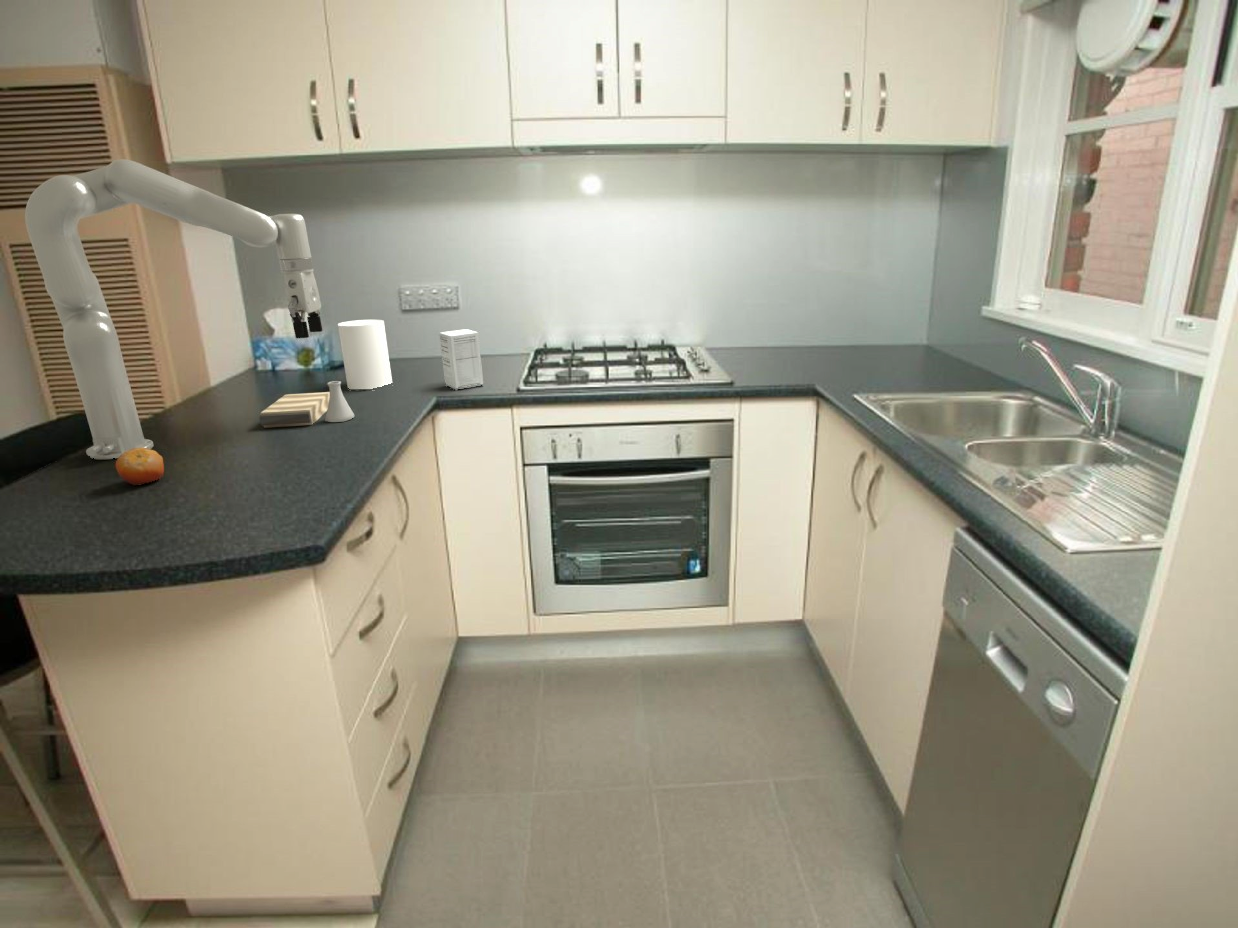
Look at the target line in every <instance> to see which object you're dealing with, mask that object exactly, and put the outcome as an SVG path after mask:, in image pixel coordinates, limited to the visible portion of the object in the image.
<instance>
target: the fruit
mask: <svg viewBox="0 0 1238 928" xmlns="http://www.w3.org/2000/svg"><path fill="white" fill-rule="evenodd" d="M164 465H165V464H164V458H163V456H162V455H160V454H159V452H157V451H156V450H154V449H145V448H140V447H139V448H134V449H131V450H129V451H126V452H124V453H123V454H122V455H121V456H120V457H119V458H116V461H115V469H116V471H117V473H118V475H119V477H120V478H122V479H123V480H124V481H125V482H126V483H128V484H131V485H133V486H135V485H139V484H144V483H147V484H149V482H150V483H153V482H155V480H156V481H159V480H160V479H161V478H162V477H163V476H164V472H165V466H164ZM158 479H159V480H158ZM152 481H153V482H152ZM144 485H145V484H144Z"/></svg>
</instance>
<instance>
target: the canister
mask: <svg viewBox="0 0 1238 928" xmlns="http://www.w3.org/2000/svg"><path fill="white" fill-rule="evenodd" d="M337 327H338V328H337V329H338V335H339V340H340V347H341V353H342V359H343V365H344V372H345V378H346V379H345V380H346V385H347V389H348V388H349V389H373V388H377V387H382V386H384V385H388V384H391V383H393V377H392V371H391V364H390V363H391V362H390V357H389V348H388V342H387V341H388V340H387V334H386V328H385V327H386V326H385V321H384V320H382V319H357V320H349V321H348V320H347V321H342V322H339V323H338V324H337ZM349 389H348V390H349Z"/></svg>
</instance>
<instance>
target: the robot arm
mask: <svg viewBox="0 0 1238 928" xmlns="http://www.w3.org/2000/svg"><path fill="white" fill-rule="evenodd" d="M130 204H135V205H138V206H141V207H143V208H146V209H149V210H150V211H154V212H157V213H159V214H162V215H165V216H167V217H170V218H173V219H175V220H177V221H180V222H182V223H185V224H189V225H192V226H195V227H200V228H201V227H202V228H206V229H210V230H213V231H217V232H220V233H221V234H224V235H227V236H230V237H234V239H235V238H236V239H238V240H241V241H242V242H243V243H244V244H245V245H247V246H250V247H253V248H267V247H270V246H272V245H275V246H276V252H277V258H278V263H279V267H280V273H281V274H283V276H284V278H283V279H284V287H285V294H286V300H287V309H288V311H289V316H290V318H291V322H292V326H293V331H294V336H295V339H307V338H309V337H310V334H309V333H322V332H323V326H322V319H321V313H320V310H321V308H322V303H321V298H320V293H319V288H318V285H317V281H316V277H315V274H314V272H315V269H314V265H313V260H312V259H313V258H312V253H311V249H310V243H309V238H308V237H309V236H308V231H307V226H306V222H305V218H304V217H303V216H302V214H298V213H280V214H275V215H266V214H264V213H263V212H259V211H257V210H255V209H252V208H250V207H247V206H244V205H243V204H241V203H237V202H235V201H233V200H229V199H227V198H225V197H222V196H219V195H218V194H214V193H212V192H210V191H208V190H206V189H203V188H200V187H198V186H196V185H194V184H190V183H188V182H186V181H183V180H181V179H178V178H175V177H173V176H170V175H169V174H166V173H164V172H161V171H159V170H157V169H155V168H152V167H149V166H147V165H145V164H143V163H140V162H137V161H134V160H130V159H125V158H121V159H119V158H118V159H116V160H113V161H112V162H111V163H109V164H108V165H105V166H104V167H100V168H96V169H93V170H89V171H86V172H82V173H78V174H75V175H70V174H69V175H68V174H61V175H60V174H59V175H56V176H53V177H51V178H49V179H47V180H45V181H44V182H43V183H41V184H40V185H39V186H38V187H37V188H35V189H34V190H33V191H32V193H31V194H30V196H29V198H28V200H27V203H26V207H25V212H24V218H25V219H24V221H25V227H26V231H27V234H28V237H29V241H30V243H31V246H32V248H33V252H34V256H35V258H36V260H37V263H38V266H39V269H40V272H41V275H42V279H43V280H44V281H43V282H44V286H45V290H46V292H47V294H48V295H49V297H50V298H51V301H52V303H53V305H54V308H55V311H56V313H57V316H58V318H59V321H60V324H61V327H62V328H63V332H62V333H63V334H62V336H63V343H64V347H65V350H66V353H67V356H68V359H69V362H70V364H71V368H72V372H73V375H74V377H75V381H76V382H75V383H76V385H77V389H78V392H79V395H80V397H81V401H82V405H83V409H84V412H85V415H86V419H87V423H88V426H89V429H90V434H91V437H92V443H93V445H92V446H90V447H89V448H87V449H86V450H85V452H86V456H88V457H89V456H90V457H89V458H90V459H93V458H94V460H114V459H113V458H115V459H118V458H119V457H120V456H121V455H122V454H123V453H124V452H126V451H129V450H131V449H134V448H139V447H140V448H145V449H150V450H152V449H153V447H154V441H153V440H151V439H146V438H145V437H144V433H143V430H142V426H141V422H140V419H139V414H138V411H137V407H136V403H135V399H134V395H133V391H132V389H131V384H130V380H129V377H128V373H127V369H126V366H125V362H124V358H123V357H124V356H123V354H122V350H121V345H120V339H119V336H118V333H117V330H116V327H115V325H114V322H113V320H112V317H111V314H110V312H109V308H108V306H107V302H106V300H105V296H104V294H103V292H102V289H101V286H100V283H99V280H98V278H97V276H96V275H95V273H94V272H93V271H92V268H91V266H90V264H89V261H88V259H87V255H86V253H85V249H84V246H83V244H82V239H81V237H80V234H79V231H78V228H79V227H78V224H79V222H80V220H83V219H86V218H90V217H92V216H95V215H99V214H103V213H105V212H108V211H112V210H115V209H118V208H122V207H125V206H127V205H130ZM306 314H307V315H308V316H307V317H306ZM305 319H307V321H305Z"/></svg>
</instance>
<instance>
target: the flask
mask: <svg viewBox="0 0 1238 928" xmlns="http://www.w3.org/2000/svg"><path fill="white" fill-rule="evenodd" d="M341 384H342V381H339V380H335V381H334V380H333V381H329V382H327V386H328V388H329V392H330V398H329V404H328V409H327V411H326V412H325V413H326V415H325V419H324V421H325V422H327V423H328V422H329V423H339V422H340V423H341V422H342V423H343V422H346V421H350V420H353V419H352V418H355V413H354V412H353V410H352V409H351V406H349V405H350V404H349V403H348V402H347V400H346V397H345V396H344V394H343V391H342V389H341Z"/></svg>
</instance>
